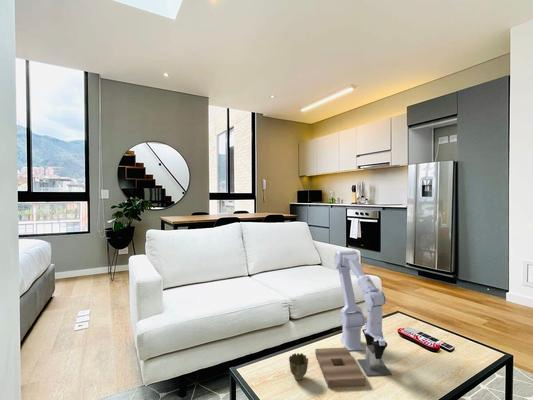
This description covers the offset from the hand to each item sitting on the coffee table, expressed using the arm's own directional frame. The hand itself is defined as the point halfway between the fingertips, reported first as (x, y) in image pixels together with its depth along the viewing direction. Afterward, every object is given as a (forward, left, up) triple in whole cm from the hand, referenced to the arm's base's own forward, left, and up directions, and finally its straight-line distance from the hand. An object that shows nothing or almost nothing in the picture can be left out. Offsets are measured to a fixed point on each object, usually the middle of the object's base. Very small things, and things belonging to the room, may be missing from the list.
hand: (374, 352), depth 116 cm
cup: (+4, -32, -6) cm, 33 cm away
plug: (0, -1, -6) cm, 6 cm away
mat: (0, 0, -6) cm, 6 cm away
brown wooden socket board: (0, -15, -6) cm, 16 cm away
